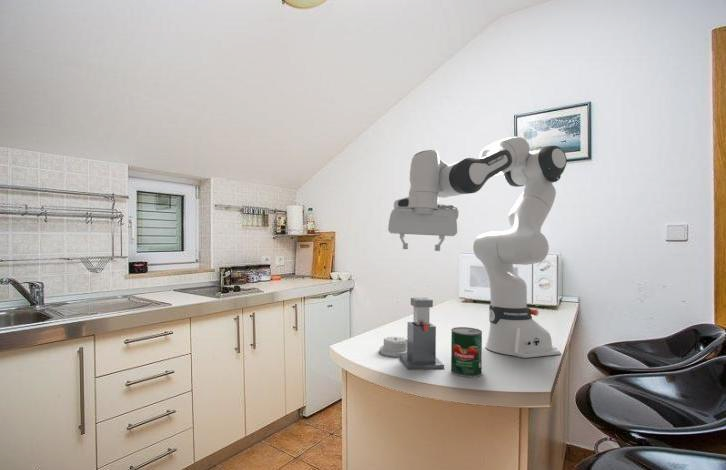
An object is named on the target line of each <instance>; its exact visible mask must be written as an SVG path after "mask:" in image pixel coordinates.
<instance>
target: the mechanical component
mask: <svg viewBox="0 0 726 470" xmlns="http://www.w3.org/2000/svg"><path fill="white" fill-rule="evenodd" d="M379 353H380V354H381V355H383V356H386V357H395V358H400V355H407V338H404V337H401V336H387V337H384V338H383V345H381V346H380V347H379Z"/></svg>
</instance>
